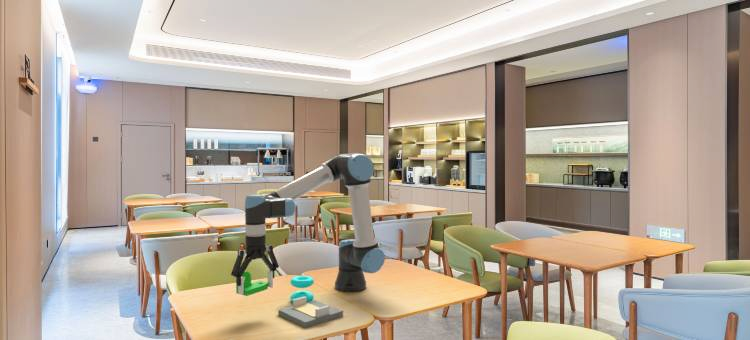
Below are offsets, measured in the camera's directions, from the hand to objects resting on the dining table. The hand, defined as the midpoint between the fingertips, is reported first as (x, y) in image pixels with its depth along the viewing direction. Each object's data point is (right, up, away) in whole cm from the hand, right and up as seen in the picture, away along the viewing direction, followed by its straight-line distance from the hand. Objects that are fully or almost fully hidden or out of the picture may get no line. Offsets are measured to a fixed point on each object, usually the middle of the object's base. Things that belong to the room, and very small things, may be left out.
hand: (256, 290), depth 172 cm
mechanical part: (-1, -1, +1) cm, 2 cm away
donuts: (+14, -10, +21) cm, 27 cm away
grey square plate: (+21, -11, +3) cm, 23 cm away
